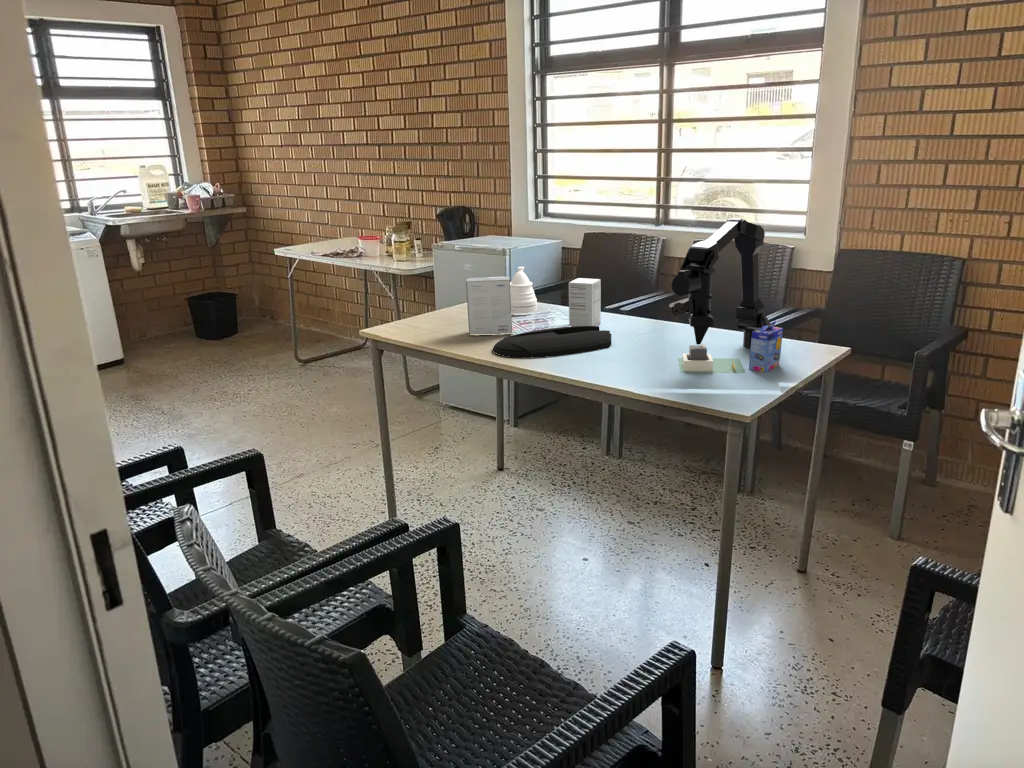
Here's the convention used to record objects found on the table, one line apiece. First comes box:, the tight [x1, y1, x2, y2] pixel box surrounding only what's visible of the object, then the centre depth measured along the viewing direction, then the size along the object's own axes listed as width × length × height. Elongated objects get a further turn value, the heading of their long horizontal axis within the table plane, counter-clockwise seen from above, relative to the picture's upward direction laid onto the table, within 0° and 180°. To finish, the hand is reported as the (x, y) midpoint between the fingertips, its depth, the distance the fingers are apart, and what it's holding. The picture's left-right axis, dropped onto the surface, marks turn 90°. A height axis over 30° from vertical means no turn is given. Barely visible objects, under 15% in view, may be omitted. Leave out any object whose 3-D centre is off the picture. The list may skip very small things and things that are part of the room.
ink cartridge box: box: [748, 320, 784, 373], centre depth 215 cm, size 10×6×14 cm, turn 138°
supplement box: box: [568, 277, 602, 327], centre depth 276 cm, size 10×9×17 cm
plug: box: [688, 343, 708, 360], centre depth 218 cm, size 4×4×7 cm
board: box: [677, 357, 747, 374], centre depth 220 cm, size 15×18×2 cm
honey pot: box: [510, 266, 538, 313], centre depth 301 cm, size 13×13×18 cm
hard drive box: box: [465, 275, 513, 335], centre depth 268 cm, size 16×8×20 cm, turn 89°
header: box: [681, 353, 713, 371], centre depth 218 cm, size 8×8×3 cm
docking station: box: [492, 325, 612, 358], centre depth 251 cm, size 25×41×5 cm, turn 112°
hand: (698, 344), depth 217 cm, fingers closed
